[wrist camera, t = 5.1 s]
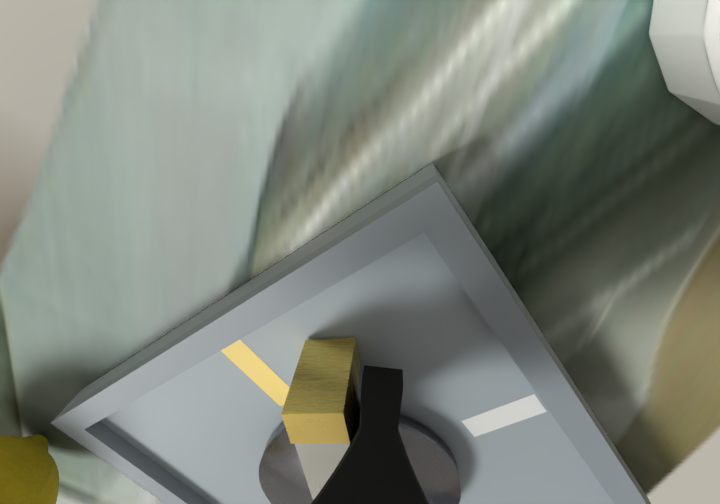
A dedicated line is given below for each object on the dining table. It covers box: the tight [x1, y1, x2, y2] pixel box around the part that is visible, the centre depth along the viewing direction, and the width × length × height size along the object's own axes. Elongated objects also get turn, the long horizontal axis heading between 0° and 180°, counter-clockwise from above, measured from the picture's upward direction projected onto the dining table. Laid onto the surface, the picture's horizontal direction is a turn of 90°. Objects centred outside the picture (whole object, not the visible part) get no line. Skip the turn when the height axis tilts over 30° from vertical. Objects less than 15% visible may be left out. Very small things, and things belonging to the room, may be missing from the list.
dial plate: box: [51, 162, 651, 504], centre depth 16 cm, size 18×18×2 cm
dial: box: [259, 337, 461, 504], centre depth 14 cm, size 11×8×3 cm
